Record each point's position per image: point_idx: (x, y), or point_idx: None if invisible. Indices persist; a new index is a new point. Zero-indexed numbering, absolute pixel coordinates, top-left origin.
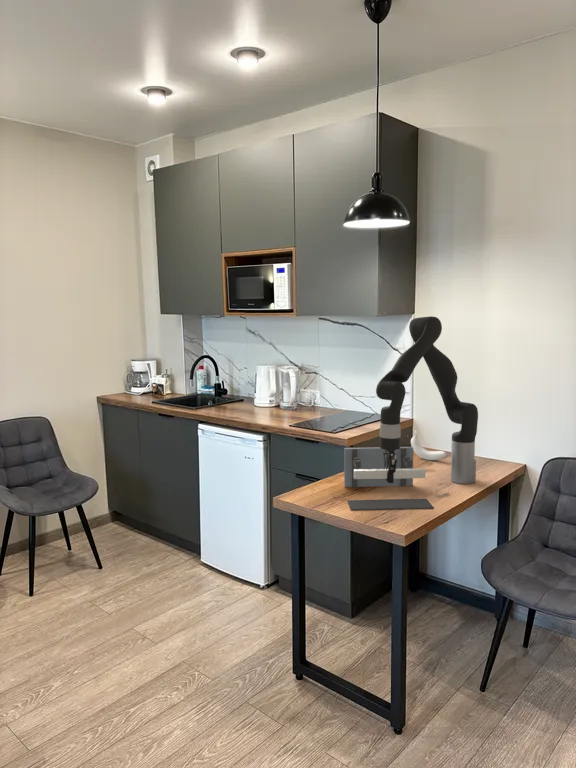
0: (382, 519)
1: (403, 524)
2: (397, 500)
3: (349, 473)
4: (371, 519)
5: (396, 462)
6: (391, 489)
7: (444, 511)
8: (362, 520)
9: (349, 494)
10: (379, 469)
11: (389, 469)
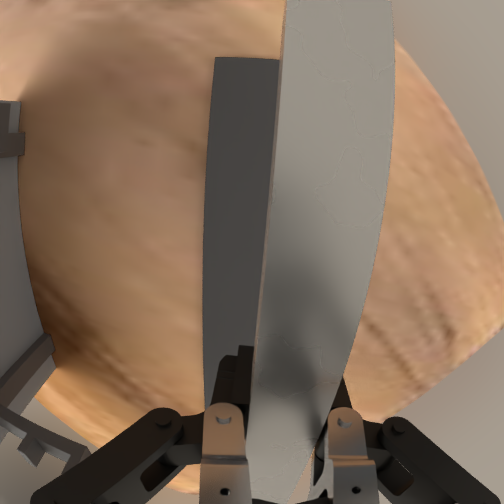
0: (423, 341)
1: (482, 282)
2: (227, 228)
3: (25, 385)
4: (407, 372)
5: (492, 494)
6: (50, 206)
7: (403, 50)
8: (402, 394)
9: (125, 383)
10: (257, 483)
11: (405, 475)
